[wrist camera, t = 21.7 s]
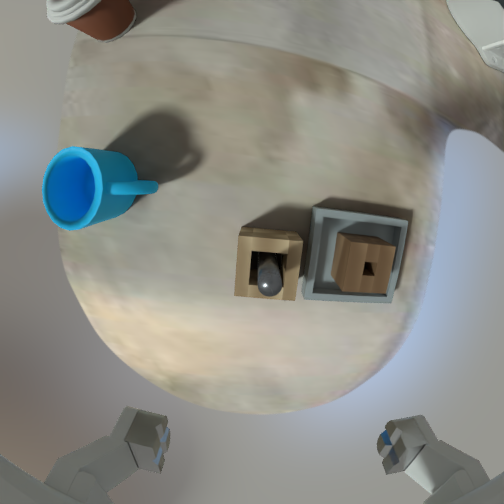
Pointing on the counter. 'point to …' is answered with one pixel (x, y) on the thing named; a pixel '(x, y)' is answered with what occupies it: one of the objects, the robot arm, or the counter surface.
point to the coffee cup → (94, 16)
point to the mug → (90, 186)
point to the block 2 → (362, 263)
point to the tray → (323, 246)
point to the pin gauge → (268, 274)
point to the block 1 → (268, 242)
